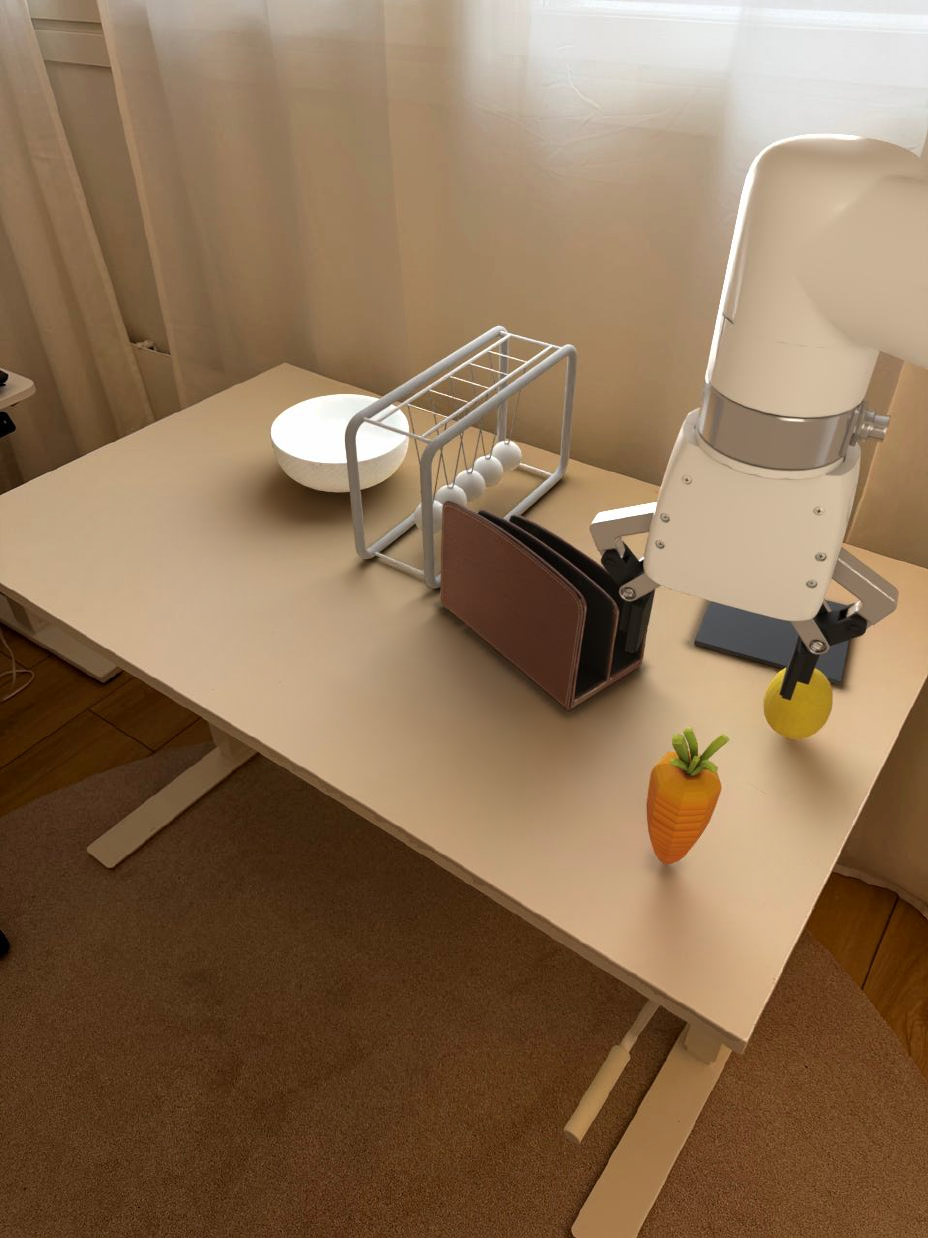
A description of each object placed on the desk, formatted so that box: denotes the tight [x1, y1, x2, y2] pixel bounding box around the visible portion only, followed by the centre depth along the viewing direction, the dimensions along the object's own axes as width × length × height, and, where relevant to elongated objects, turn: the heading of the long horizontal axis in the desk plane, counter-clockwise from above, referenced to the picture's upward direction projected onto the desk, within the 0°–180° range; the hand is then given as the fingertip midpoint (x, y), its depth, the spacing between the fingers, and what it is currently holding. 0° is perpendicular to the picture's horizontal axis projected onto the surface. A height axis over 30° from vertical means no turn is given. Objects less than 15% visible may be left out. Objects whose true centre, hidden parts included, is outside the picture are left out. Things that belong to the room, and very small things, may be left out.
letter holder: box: [439, 501, 648, 712], centre depth 86 cm, size 10×20×14 cm, turn 38°
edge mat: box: [694, 599, 850, 686], centre depth 91 cm, size 14×12×1 cm
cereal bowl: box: [270, 393, 410, 493], centre depth 111 cm, size 17×17×7 cm
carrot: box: [645, 727, 730, 865], centre depth 65 cm, size 5×5×15 cm
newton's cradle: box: [345, 325, 578, 589], centre depth 101 cm, size 30×10×18 cm, turn 146°
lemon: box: [762, 668, 834, 740], centre depth 78 cm, size 6×6×8 cm
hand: (710, 661), depth 56 cm, fingers open, 9 cm apart
